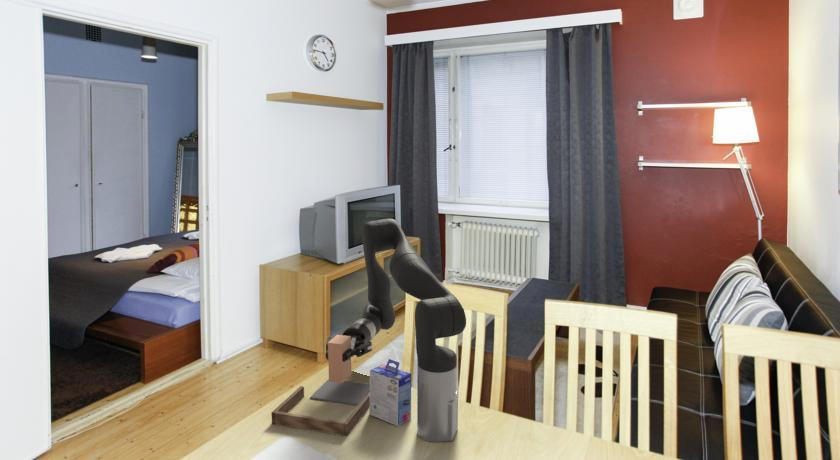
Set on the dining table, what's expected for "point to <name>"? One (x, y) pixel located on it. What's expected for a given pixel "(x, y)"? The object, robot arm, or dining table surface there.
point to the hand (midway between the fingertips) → (335, 357)
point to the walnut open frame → (315, 423)
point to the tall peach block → (338, 358)
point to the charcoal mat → (342, 392)
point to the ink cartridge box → (390, 393)
